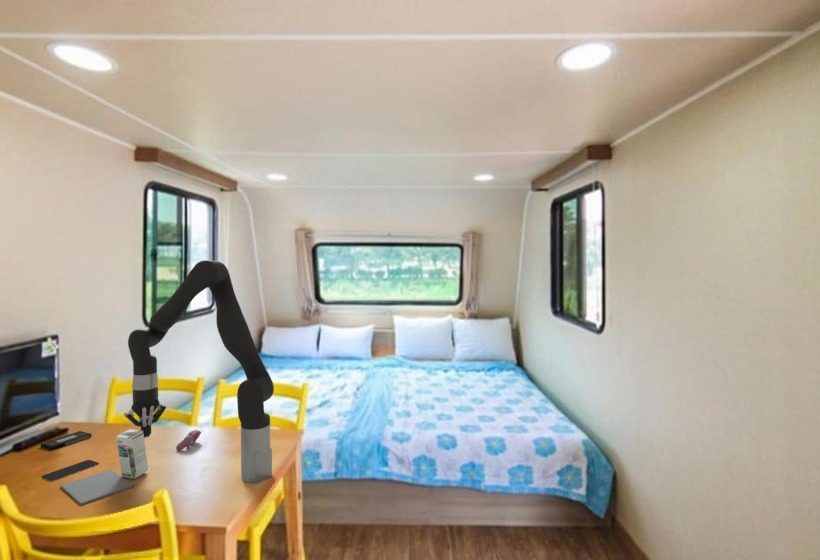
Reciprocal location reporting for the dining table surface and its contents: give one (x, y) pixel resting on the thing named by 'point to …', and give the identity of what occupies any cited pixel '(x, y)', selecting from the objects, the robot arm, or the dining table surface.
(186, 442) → the purple-brown oblong lump
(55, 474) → the smartphone
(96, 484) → the mat
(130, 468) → the syrup box
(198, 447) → the dining table surface
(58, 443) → the vhs tape
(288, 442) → the dining table surface
